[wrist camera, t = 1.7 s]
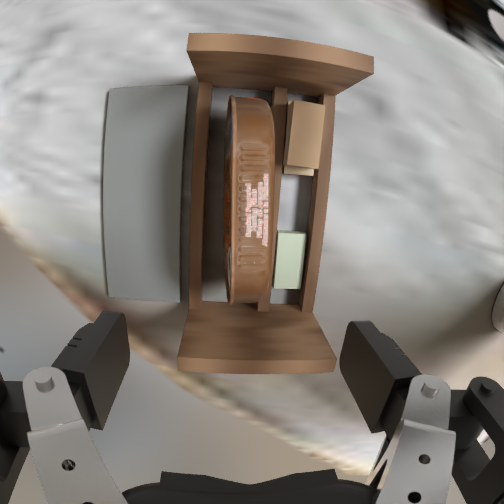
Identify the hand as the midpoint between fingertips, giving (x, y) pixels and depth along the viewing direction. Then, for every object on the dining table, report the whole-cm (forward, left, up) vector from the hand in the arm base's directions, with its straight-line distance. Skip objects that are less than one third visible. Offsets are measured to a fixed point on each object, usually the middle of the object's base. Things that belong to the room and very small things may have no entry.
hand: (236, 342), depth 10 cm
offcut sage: (-5, +2, -17) cm, 18 cm away
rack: (-2, -3, -17) cm, 17 cm away
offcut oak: (-5, -9, -15) cm, 18 cm away
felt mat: (+8, -3, -17) cm, 19 cm away
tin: (-1, -3, -17) cm, 18 cm away
